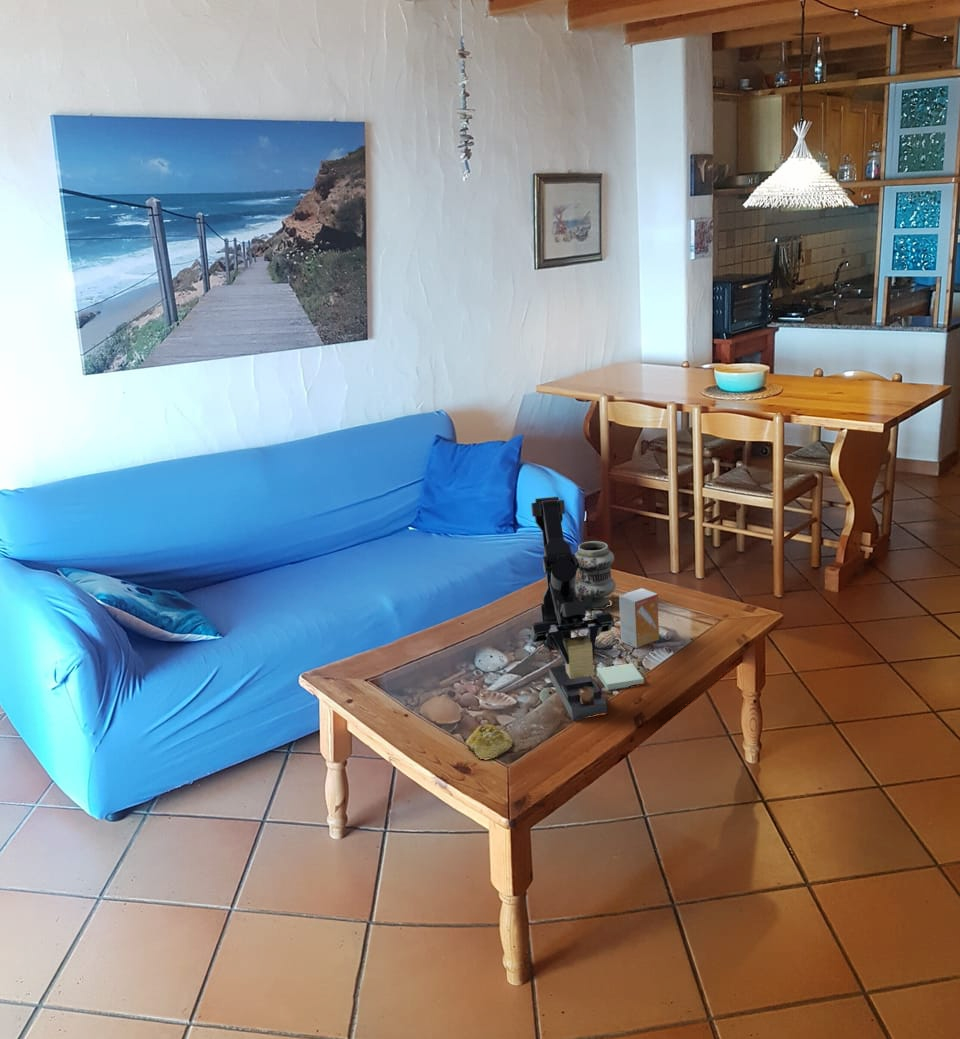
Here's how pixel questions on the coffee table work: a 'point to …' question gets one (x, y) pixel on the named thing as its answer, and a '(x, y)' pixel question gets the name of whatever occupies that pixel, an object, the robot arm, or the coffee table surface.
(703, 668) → the coffee table surface
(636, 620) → the small box
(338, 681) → the coffee table surface
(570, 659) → the lever cap
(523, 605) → the coffee table surface
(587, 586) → the apothecary jar
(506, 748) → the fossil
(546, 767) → the coffee table surface
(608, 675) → the sage mat
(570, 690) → the plane body
